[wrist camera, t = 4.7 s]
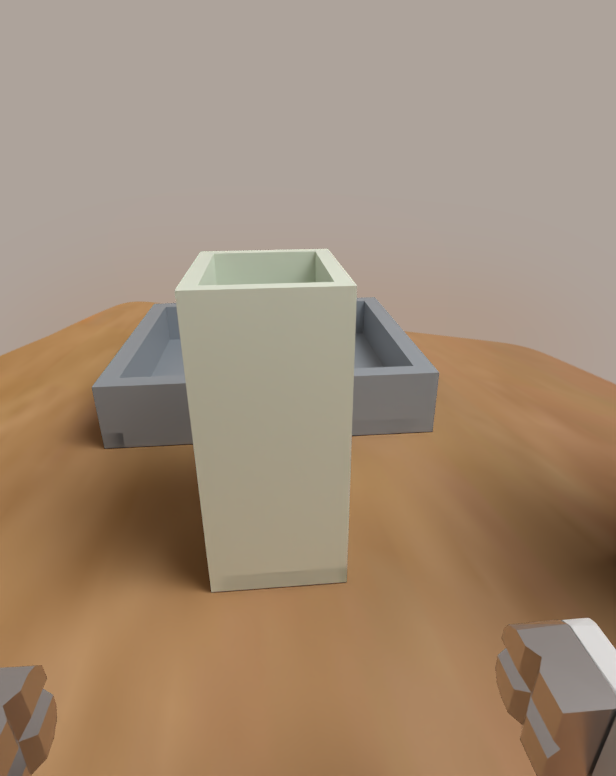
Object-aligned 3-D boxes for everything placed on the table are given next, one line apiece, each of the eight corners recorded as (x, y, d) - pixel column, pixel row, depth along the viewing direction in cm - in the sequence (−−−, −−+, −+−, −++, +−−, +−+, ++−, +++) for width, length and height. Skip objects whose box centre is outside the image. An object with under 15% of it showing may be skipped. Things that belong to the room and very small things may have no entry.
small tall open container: (211, 592, 19) (174, 290, 14) (223, 486, 26) (200, 251, 21) (346, 581, 20) (357, 285, 15) (325, 480, 26) (327, 248, 21)
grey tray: (104, 448, 29) (91, 387, 28) (160, 346, 45) (154, 303, 44) (432, 431, 31) (439, 372, 29) (372, 338, 47) (374, 297, 45)
